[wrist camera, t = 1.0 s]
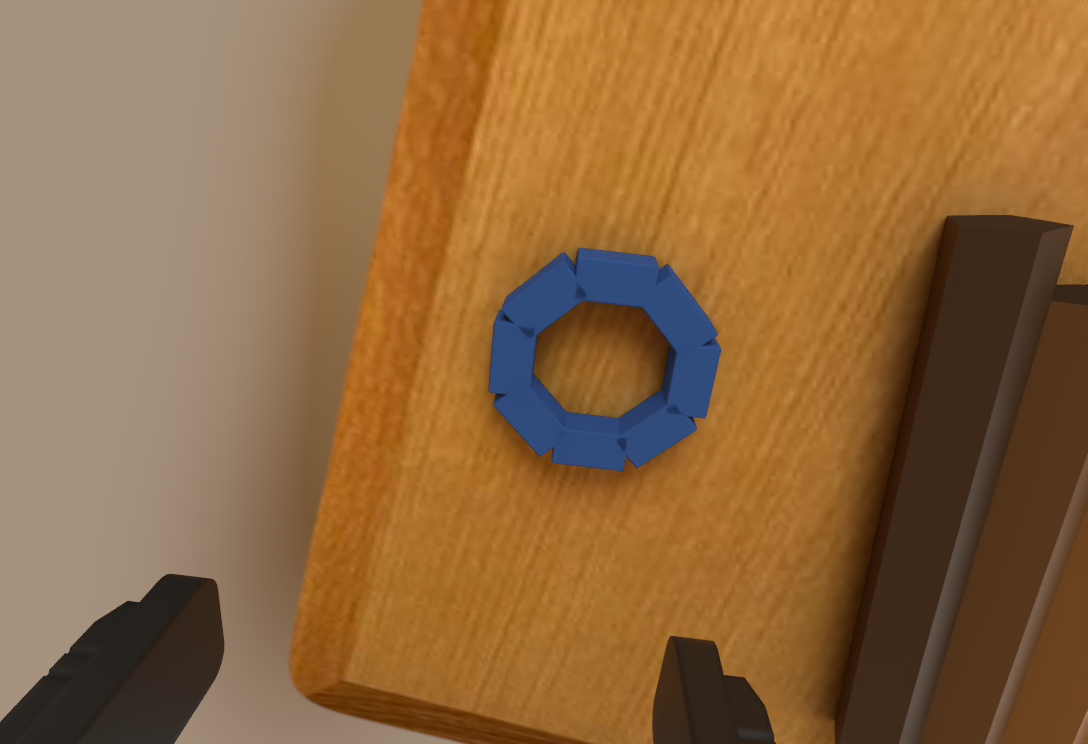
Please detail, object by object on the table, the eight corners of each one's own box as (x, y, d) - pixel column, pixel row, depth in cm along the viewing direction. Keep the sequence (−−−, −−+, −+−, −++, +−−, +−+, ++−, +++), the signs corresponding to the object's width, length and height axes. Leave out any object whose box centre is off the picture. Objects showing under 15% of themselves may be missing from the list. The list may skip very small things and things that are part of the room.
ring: (488, 436, 27) (483, 455, 26) (504, 238, 24) (499, 247, 22) (686, 459, 27) (691, 480, 26) (728, 264, 24) (738, 275, 22)
